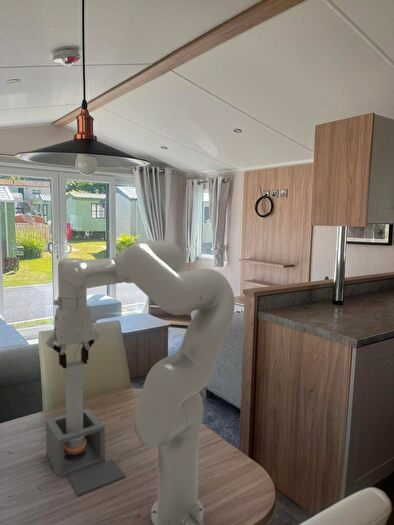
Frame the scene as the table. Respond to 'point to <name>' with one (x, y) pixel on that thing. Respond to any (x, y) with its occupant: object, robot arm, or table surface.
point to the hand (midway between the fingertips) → (74, 364)
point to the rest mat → (95, 477)
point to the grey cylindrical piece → (74, 400)
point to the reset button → (75, 449)
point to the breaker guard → (58, 436)
